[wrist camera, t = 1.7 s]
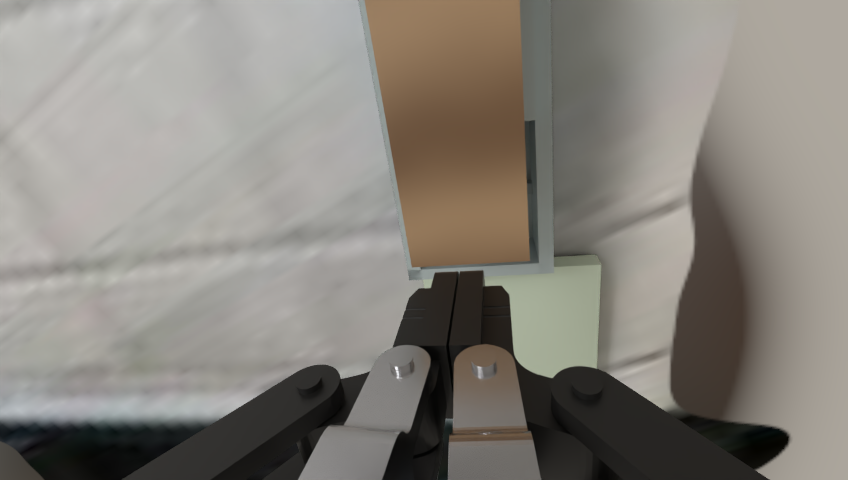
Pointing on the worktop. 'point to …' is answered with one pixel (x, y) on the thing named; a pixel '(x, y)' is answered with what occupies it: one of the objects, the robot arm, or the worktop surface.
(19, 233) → the worktop surface
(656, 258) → the worktop surface
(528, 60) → the pale blue tray
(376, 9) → the walnut bar
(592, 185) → the worktop surface
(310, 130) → the worktop surface
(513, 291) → the plate
